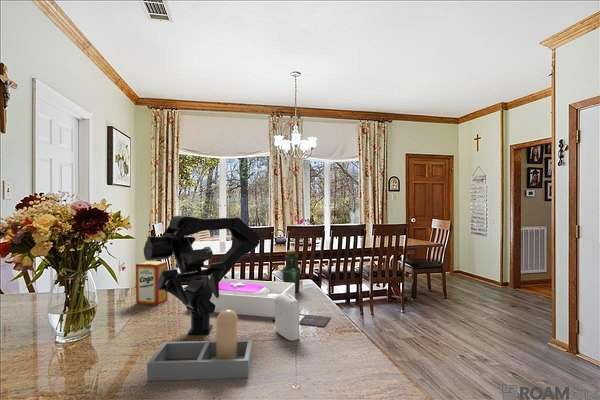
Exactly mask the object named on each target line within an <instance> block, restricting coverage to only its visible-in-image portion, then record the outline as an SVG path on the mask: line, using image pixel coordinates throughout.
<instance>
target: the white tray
mask: <svg viewBox="0 0 600 400" xmlns="http://www.w3.org/2000/svg"><path fill="white" fill-rule="evenodd" d="M282 293H287V294H289V295H291V296H293V297H294V298H295V299H296V293H295V283H286V282H283V281H268V280H267V281H266V280H254V279H253V280H251V279H238V278H237V279H234V278H222V280H221V281H220V282H219V297H218V298H216V297H215V295H214V294H213V293H212V297H211V299H210V301H211V302H212V303H213V304H214V305H215V306H216V307H215V310H214V312H213V313H218V314H219V313H220V312H221V311H223V310H226V309H230V310H233V311H234V312H235V313H236V314H237V315H242V316H243V315H245V316H255V317H256V316H257V317H265V318H266V317H267V318H275V298H276V296H277V295H278V294H282Z"/></svg>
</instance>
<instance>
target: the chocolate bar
mask: <svg viewBox="0 0 600 400" xmlns="http://www.w3.org/2000/svg"><path fill="white" fill-rule="evenodd" d="M273 318H274V319H272V322H274V323H275V317H273ZM330 318H331V316H322V315H314V314H304V313H299V324H300V325H299V326H306V325H308V326H309V327H315V326H317V327H316V328H325V327H326V326H327V324H328V323H329V322H328V321H330V320H331V319H332V318H331V319H330ZM308 326H307V327H308Z"/></svg>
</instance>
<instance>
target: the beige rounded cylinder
mask: <svg viewBox="0 0 600 400" xmlns="http://www.w3.org/2000/svg"><path fill="white" fill-rule="evenodd" d="M238 317H239V316H238V314H236V313H235V312H234V311H233V310H230V309H226V310H223V311H221V312H220V313H219V312H218V315H217V317H216V322H215V323H216V324H215V325H216V327H215V329H216V332H215V334H216V335H215V341H216V360H218V359H237V340H238V336H239V335H238V334H239V333H238V331H239V326H238V325H239V318H238Z"/></svg>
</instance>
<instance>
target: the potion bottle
mask: <svg viewBox="0 0 600 400" xmlns="http://www.w3.org/2000/svg"><path fill="white" fill-rule="evenodd" d="M284 259H285V260H286V261H287V265H285V266H284V267H283V268H282V270H281V271H282V282H286V283H295V292H297V293H299V292H300V282H301V273H302V272H301V270H302V269H301V268H300V267H299V266H298V265H296V260H298V259H299V257H298V255H297V254H296V250H295V249H289V250H287V255H285V256H284ZM298 291H299V292H298Z"/></svg>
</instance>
